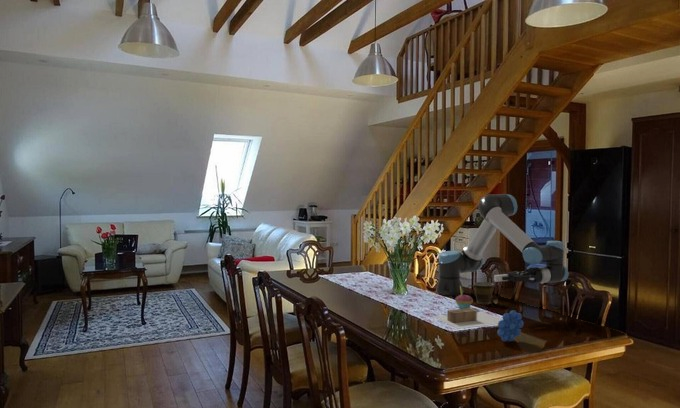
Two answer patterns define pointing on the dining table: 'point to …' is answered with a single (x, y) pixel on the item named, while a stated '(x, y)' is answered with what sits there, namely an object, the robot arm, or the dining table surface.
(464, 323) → the felt mat
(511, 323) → the grapes
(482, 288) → the ceramic cup
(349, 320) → the dining table surface
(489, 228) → the robot arm
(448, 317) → the walnut block
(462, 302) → the cupcake
